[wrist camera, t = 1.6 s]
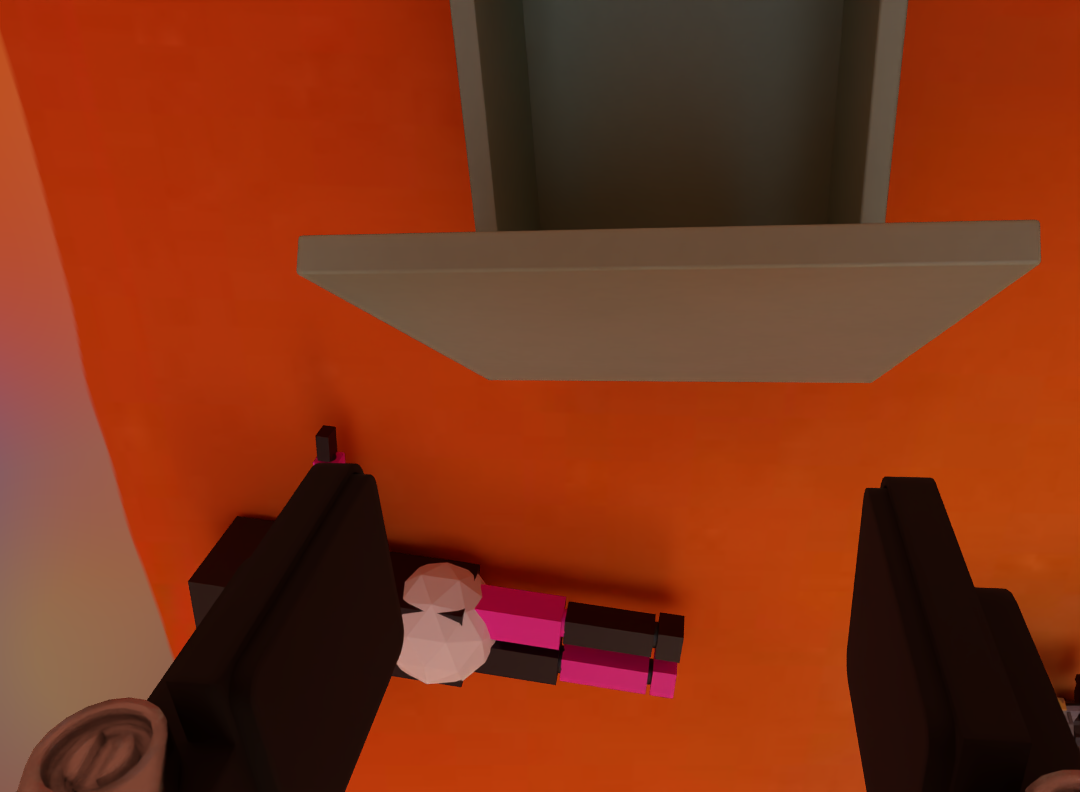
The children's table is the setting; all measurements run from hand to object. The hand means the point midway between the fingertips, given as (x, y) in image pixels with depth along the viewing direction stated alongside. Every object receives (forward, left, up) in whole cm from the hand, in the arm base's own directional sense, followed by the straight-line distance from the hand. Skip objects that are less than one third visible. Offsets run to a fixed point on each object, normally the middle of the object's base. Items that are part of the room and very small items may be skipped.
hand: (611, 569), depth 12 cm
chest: (0, 0, -30) cm, 30 cm away
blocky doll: (+26, -12, -30) cm, 41 cm away
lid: (+3, 0, -14) cm, 14 cm away
